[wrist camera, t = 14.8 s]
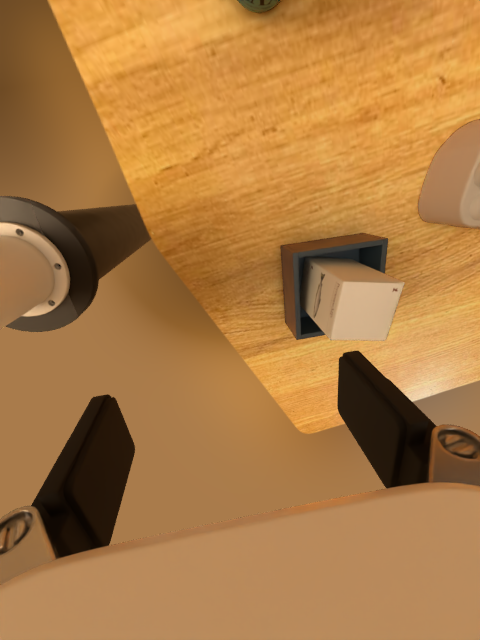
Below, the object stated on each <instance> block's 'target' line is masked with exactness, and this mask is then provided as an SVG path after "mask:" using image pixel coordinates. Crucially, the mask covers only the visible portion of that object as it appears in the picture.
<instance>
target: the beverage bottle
mask: <svg viewBox="0 0 480 640" xmlns="http://www.w3.org/2000/svg"><path fill="white" fill-rule="evenodd" d="M238 1H239V3H240V4H241V5H242V6H243V7H245V8H246V9H248V10H250V11H252V12H265V11H268V10H270V9H272V7H273V8H274V6H275V5H276V4H277V3H278V2H279V1H280V0H238ZM280 2H281V1H280ZM280 2H279V3H280ZM279 3H278V4H279ZM278 4H277V5H278Z"/></svg>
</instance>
